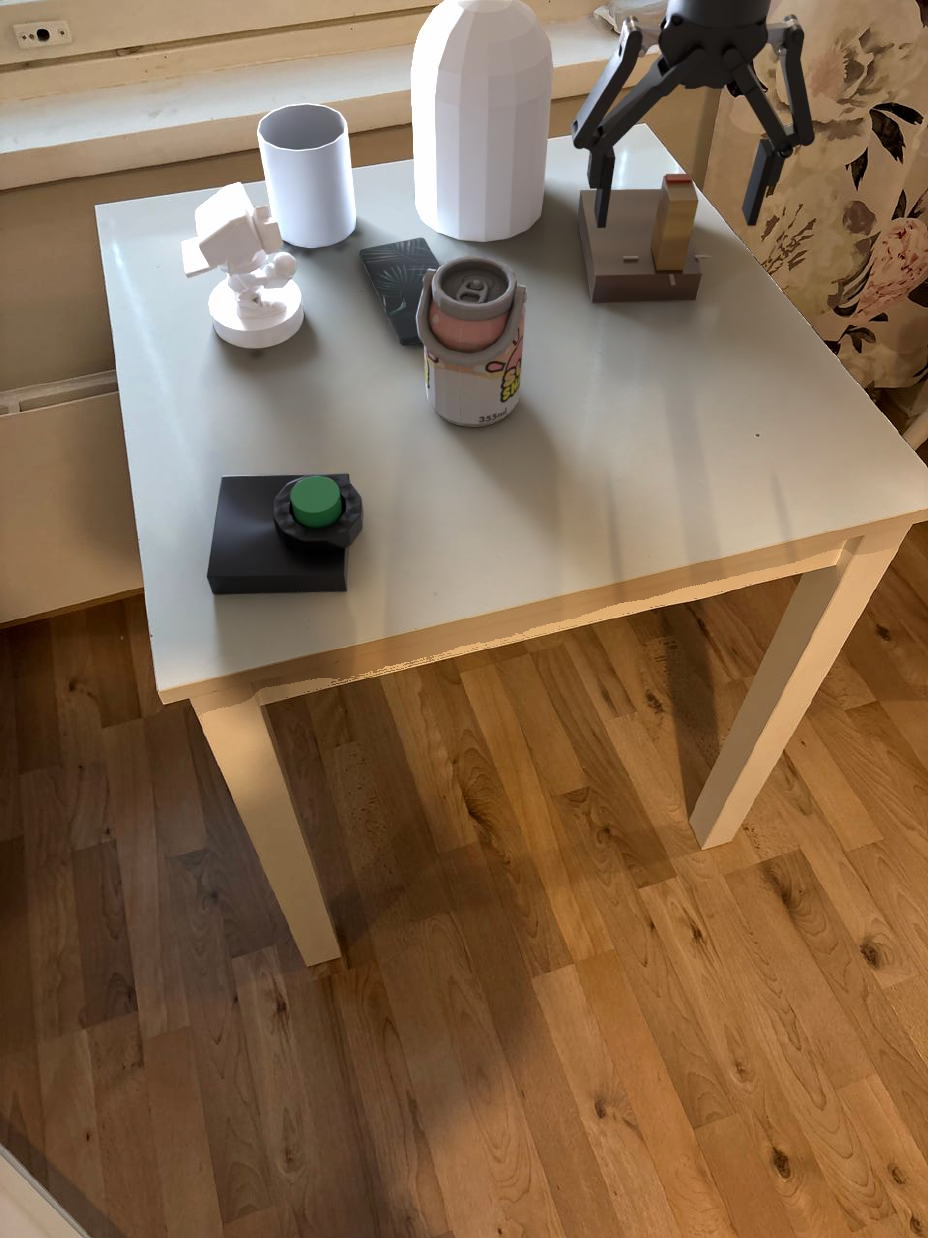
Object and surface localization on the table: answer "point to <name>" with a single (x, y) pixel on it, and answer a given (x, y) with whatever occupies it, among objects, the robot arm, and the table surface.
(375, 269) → the smartphone
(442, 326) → the beverage can
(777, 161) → the robot arm
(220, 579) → the box
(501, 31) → the container
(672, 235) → the tan wooden block
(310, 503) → the open button
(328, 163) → the cup
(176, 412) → the table surface
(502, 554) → the table surface
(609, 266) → the plate
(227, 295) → the character figurine
